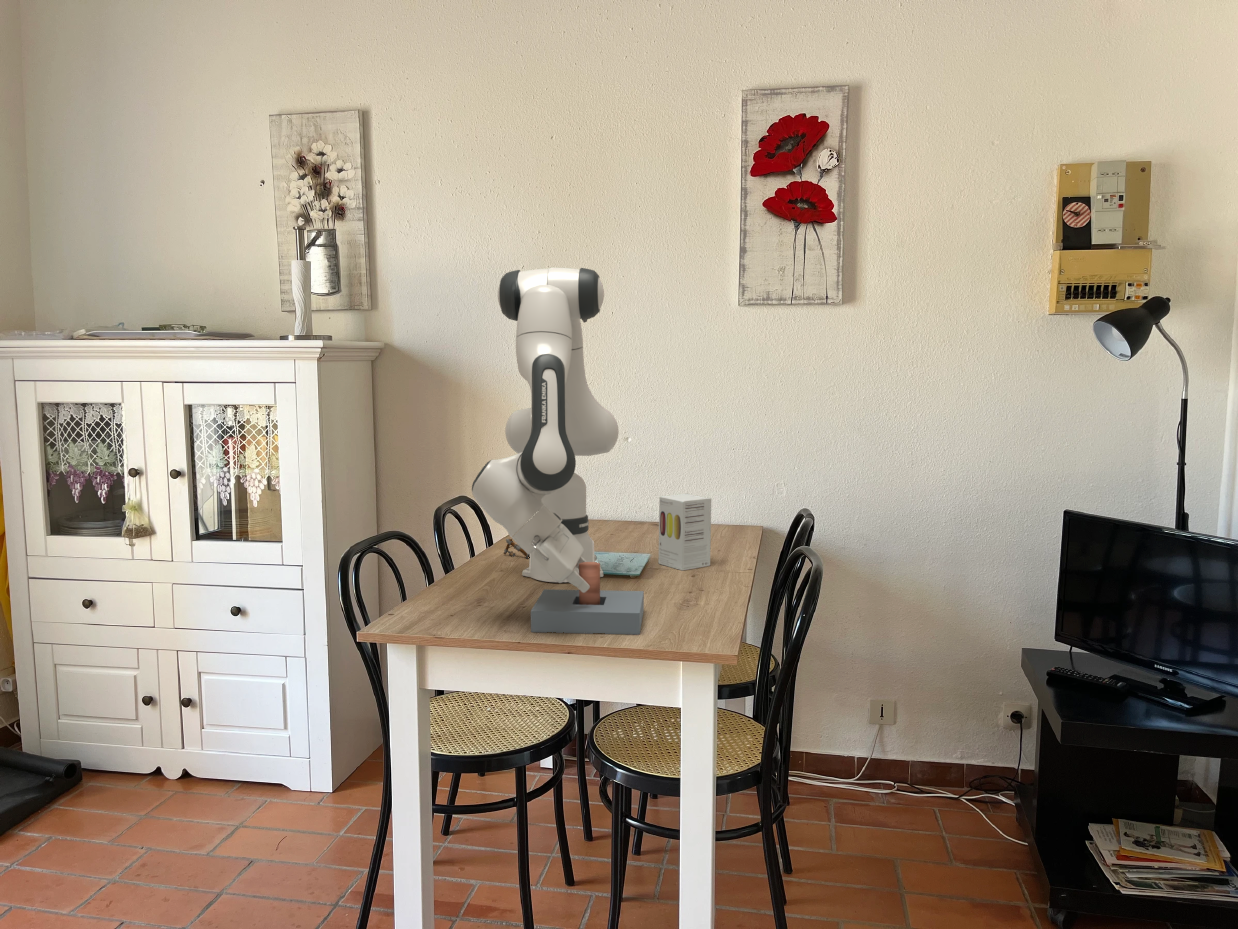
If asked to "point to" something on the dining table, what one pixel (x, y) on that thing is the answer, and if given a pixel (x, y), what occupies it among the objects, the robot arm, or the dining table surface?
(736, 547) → the dining table surface
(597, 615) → the socket block
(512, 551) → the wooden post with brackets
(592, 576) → the pin
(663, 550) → the supplement box
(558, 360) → the robot arm
